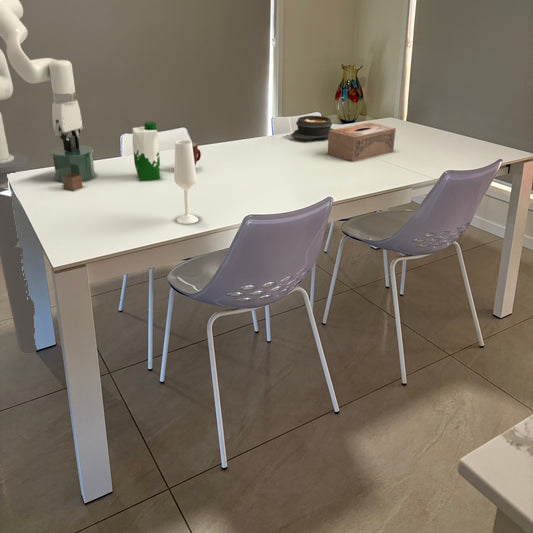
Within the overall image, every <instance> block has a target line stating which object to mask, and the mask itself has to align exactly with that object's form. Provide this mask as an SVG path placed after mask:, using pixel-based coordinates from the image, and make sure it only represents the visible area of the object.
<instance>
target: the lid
mask: <svg viewBox="0 0 533 533" xmlns="http://www.w3.org/2000/svg"><path fill="white" fill-rule="evenodd" d="M69 140H71V145H72V151H71V152H70V151H65V150H64V145H61V146H58V147H54V148H52V149H51V150H50V154H51V155H52V156H53V155H54V156H57V157H78V156H84V155H87V154H90V153H92V154H93V152H94V148H93V146H90V145H84V144H79V149H76V143H75V136H74V135H71V134H69Z"/></svg>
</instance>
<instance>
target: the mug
mask: <svg viewBox="0 0 533 533" xmlns="http://www.w3.org/2000/svg"><path fill="white" fill-rule="evenodd" d="M191 142H192V147H193V155H194V162H195V166H196V165H197V162H199V161H200V159H201V157H202V152H201V150H200V149H199V148H198V146H199V145H198V143H197V142H194V141H191Z"/></svg>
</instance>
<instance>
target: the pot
mask: <svg viewBox="0 0 533 533" xmlns="http://www.w3.org/2000/svg"><path fill="white" fill-rule="evenodd" d="M52 159H53V165H54V171H55V173H54V174H55V179H56V180H57V181H58V182H61V183H63V179H62V176H64V175H67V174H70V173H74V174H80V175H81V178H82V183H84V182H87V181H90V180H92V179H94V178H95V176H96V173H95V166H94V157H93V152H92V153H90V154H87V155H84V156H78V157H57V156H54V155H52Z"/></svg>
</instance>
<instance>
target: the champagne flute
mask: <svg viewBox="0 0 533 533" xmlns="http://www.w3.org/2000/svg"><path fill="white" fill-rule="evenodd" d="M192 142H193V141H191V140H188V139H182V140H176V141H175V143H174V168H173V169H174V170H173V180H174V183H175V184H176V185H177V186H178V188H179V187H180V189H181V190H183V194H184V195H183V196H184V214H182V215H181V216H179V217H178V218H176V222H177V223H179V224H183V225H189V224H194V223H197V222H199V218H198V217H197V216H195V215H193V214H191V213H190V203H189V201H190V200H189V190H190V189H192V188H193V186H194V185H196V182H197V180H198V179H197V178H198V177H197V170H196V165H195V162H194V155H193V147H192Z"/></svg>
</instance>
